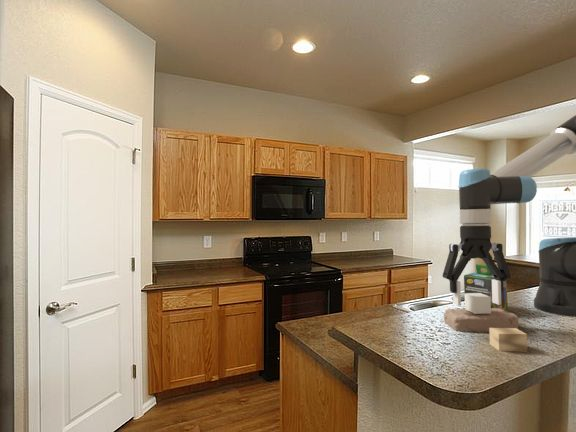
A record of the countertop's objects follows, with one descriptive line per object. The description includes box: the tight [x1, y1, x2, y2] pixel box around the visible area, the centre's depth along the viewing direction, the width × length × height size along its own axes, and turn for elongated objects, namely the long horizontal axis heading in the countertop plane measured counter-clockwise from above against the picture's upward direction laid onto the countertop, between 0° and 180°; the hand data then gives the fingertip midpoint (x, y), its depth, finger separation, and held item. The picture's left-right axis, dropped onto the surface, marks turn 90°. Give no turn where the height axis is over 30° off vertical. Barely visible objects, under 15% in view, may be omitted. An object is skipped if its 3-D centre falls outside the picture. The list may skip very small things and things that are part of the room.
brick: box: [443, 308, 520, 332], centre depth 89 cm, size 17×8×5 cm, turn 87°
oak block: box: [488, 328, 528, 352], centre depth 75 cm, size 6×4×4 cm, turn 84°
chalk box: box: [463, 263, 509, 311], centre depth 105 cm, size 9×9×15 cm
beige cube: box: [464, 292, 491, 314], centre depth 90 cm, size 4×4×4 cm
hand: (476, 304), depth 90 cm, fingers open, 10 cm apart
